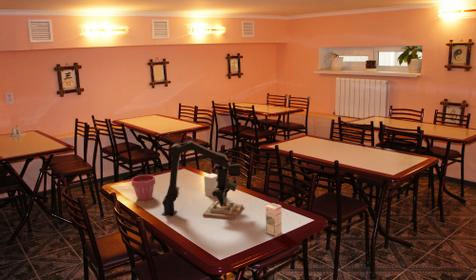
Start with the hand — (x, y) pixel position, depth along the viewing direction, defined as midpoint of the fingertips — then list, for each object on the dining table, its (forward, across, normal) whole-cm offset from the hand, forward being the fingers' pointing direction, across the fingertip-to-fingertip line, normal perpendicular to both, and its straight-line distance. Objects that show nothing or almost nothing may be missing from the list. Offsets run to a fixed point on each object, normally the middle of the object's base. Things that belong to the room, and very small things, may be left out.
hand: (223, 203), depth 240 cm
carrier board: (+5, 0, 0) cm, 5 cm away
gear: (+3, 0, 0) cm, 3 cm away
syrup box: (+5, -21, -33) cm, 40 cm away
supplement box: (+5, +25, +15) cm, 30 cm away
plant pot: (+5, +11, +55) cm, 56 cm away
